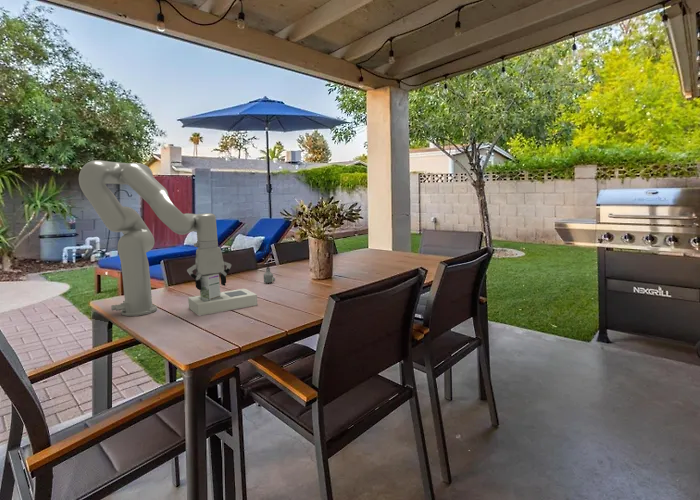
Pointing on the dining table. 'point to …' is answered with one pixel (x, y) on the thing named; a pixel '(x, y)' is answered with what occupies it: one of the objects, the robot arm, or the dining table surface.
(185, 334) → the dining table surface
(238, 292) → the caddy
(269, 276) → the reed diffuser
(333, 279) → the dining table surface
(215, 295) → the syrup box
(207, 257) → the robot arm
